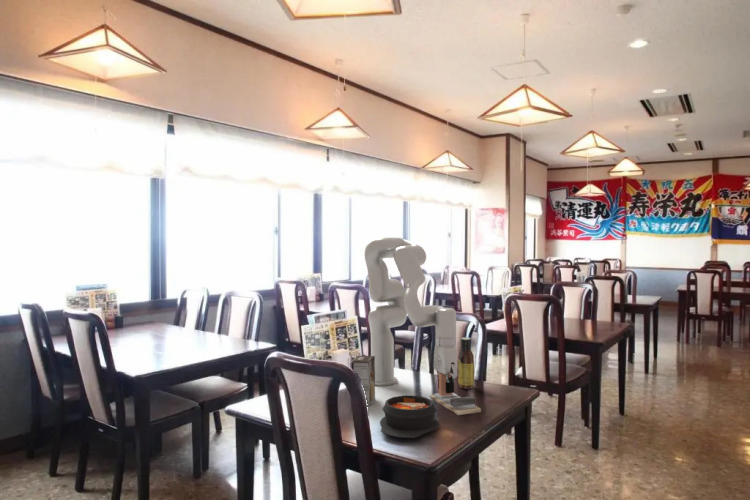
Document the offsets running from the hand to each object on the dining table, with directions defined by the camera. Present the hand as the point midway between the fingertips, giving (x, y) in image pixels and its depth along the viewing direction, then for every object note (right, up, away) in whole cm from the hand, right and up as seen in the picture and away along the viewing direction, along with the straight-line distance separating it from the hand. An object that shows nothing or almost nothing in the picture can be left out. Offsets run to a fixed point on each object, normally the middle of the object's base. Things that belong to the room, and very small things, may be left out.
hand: (445, 390), depth 188 cm
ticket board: (+2, -4, -6) cm, 7 cm away
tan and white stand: (0, -2, 0) cm, 2 cm away
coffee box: (-30, -4, -2) cm, 30 cm away
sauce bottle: (+10, -3, +15) cm, 19 cm away
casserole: (-15, -4, -29) cm, 33 cm away
